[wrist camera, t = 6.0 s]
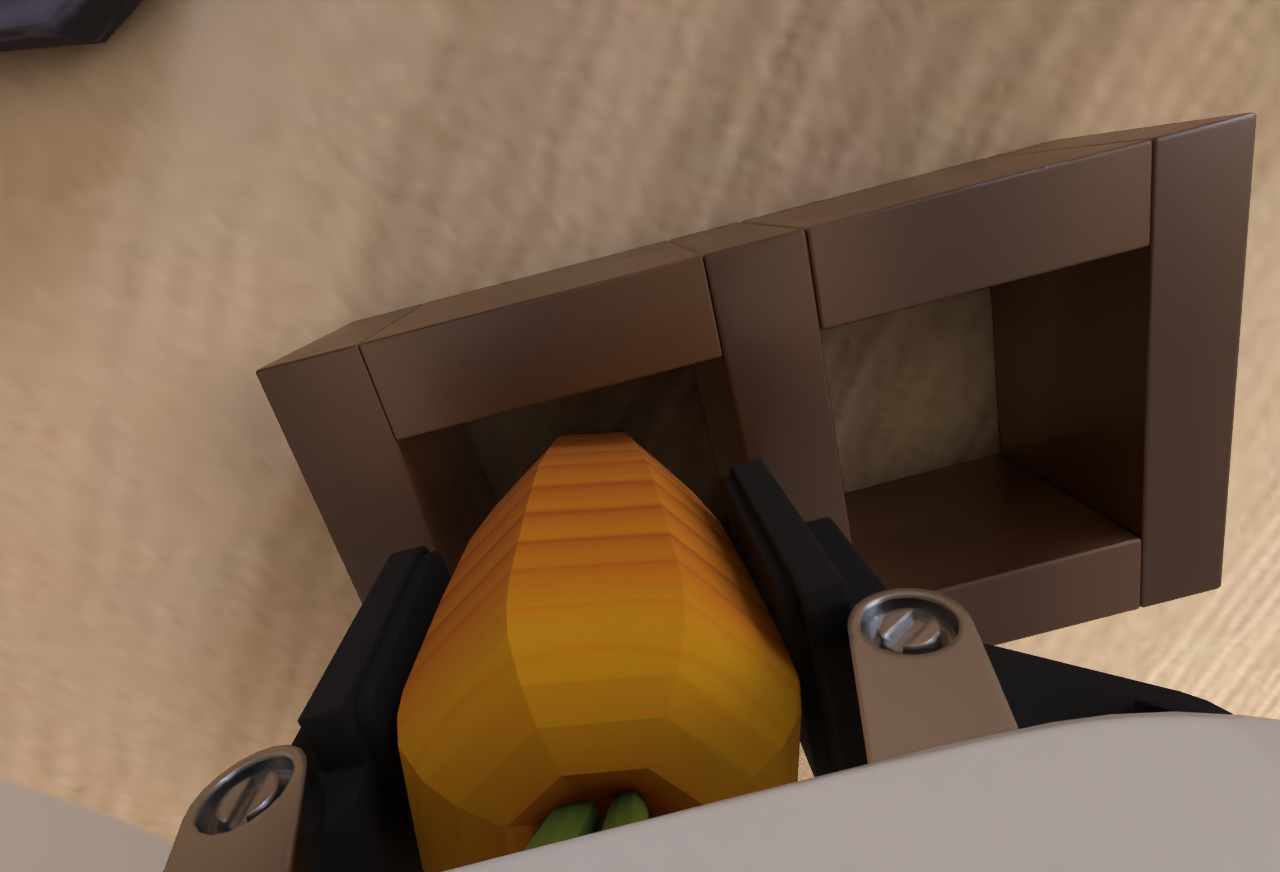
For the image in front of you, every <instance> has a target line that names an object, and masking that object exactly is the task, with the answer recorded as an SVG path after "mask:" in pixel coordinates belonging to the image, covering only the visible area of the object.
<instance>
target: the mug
mask: <svg viewBox="0 0 1280 872" xmlns="http://www.w3.org/2000/svg"><path fill="white" fill-rule="evenodd" d="M141 1H142V0H0V51H11V50H22V49H34V48H45V47H57V46H69V45H80V44H92V43H103V42H106V40H107V39H108V38H109V37H110V36H111V35H112V34H113V33H114V32H115V30H116V29H117V28H118V27H119V26H120V25H121V24H122V23H123V21H124V20H125V19H126V18H127V17H128V16H129V15H130V14H131V13H132V11H133V10H134V9H135V8H136V7H137V6H138V5H139V4H140V3H141Z"/></svg>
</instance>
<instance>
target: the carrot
mask: <svg viewBox="0 0 1280 872" xmlns="http://www.w3.org/2000/svg"><path fill="white" fill-rule="evenodd" d="M397 728H398V748H399V753H400V758H401V763H402V768H403V773H404V778H405V784H406V789H407V794H408V799H409V804H410V809H411V814H412V819H413V824H414V829H415V834H416V839H417V844H418V849H419V854H420V859H421V864H422V869H423V871H425V872H442V871H446V870H450V869H454V868H458V867H462V866H466V865H470V864H474V863H478V862H482V861H486V860H490V859H494V858H497V857H501V856H505V855H509V854H513V853H517V852H521V851H525V850H529V849H533V848H537V847H541V846H545V845H549V844H552V843H556V842H560V841H564V840H568V839H572V838H576V837H580V836H584V835H588V834H592V833H596V832H599V831H603V830H607V829H611V828H615V827H619V826H623V825H627V824H631V823H635V822H639V821H643V820H647V819H650V818H654V817H658V816H662V815H666V814H670V813H674V812H678V811H682V810H686V809H690V808H694V807H698V806H701V805H705V804H709V803H713V802H717V801H721V800H725V799H729V798H733V797H737V796H741V795H745V794H749V793H753V792H757V791H761V790H765V789H769V788H773V787H777V786H781V785H785V784H789V783H793V782H797V779H798V762H799V745H800V729H801V689H800V680H799V677H798V674H797V670H796V668H795V666H794V664H793V661H792V659H791V656H790V654H789V652H788V650H787V648H786V646H785V644H784V642H783V640H782V637H781V635H780V633H779V631H778V629H777V627H776V625H775V623H774V620H773V618H772V616H771V614H770V612H769V610H768V608H767V606H766V605H765V603H764V601H763V599H762V597H761V595H760V593H759V591H758V589H757V587H756V585H755V583H754V581H753V579H752V577H751V575H750V573H749V572H748V570H747V568H746V566H745V565H744V563H743V561H742V559H741V558H740V556H739V554H738V552H737V551H736V549H735V547H734V545H733V544H732V542H731V540H730V538H729V537H728V535H727V533H726V531H725V530H724V528H723V526H722V524H721V523H720V522H719V520H718V519H717V518H716V517H715V516H714V515H713V514H712V513H711V512H710V510H709V509H708V508H707V507H706V506H705V505H704V504H703V503H702V501H701V500H700V499H699V498H698V497H697V496H696V495H695V494H694V493H693V492H692V491H691V490H690V489H689V488H688V487H687V486H686V485H685V484H684V483H683V482H682V481H681V480H680V479H679V478H677V477H676V476H675V475H674V474H673V473H672V472H671V471H670V470H669V469H668V468H666V467H665V466H664V465H663V464H662V463H661V462H659V461H658V460H657V459H656V458H655V457H654V456H652V455H651V454H650V453H649V452H648V451H647V450H645V449H644V448H643V447H642V446H641V445H640V444H638V443H637V442H636V441H635V440H634V439H632V438H631V437H630V436H629V435H628V434H627V433H625V432H604V433H587V434H570V435H560V436H559V437H558V438H557V439H556V440H555V441H554V442H553V444H552V445H551V446H550V447H549V448H548V449H547V450H546V451H545V452H544V453H543V454H542V455H541V456H540V458H539V459H538V460H537V461H536V462H535V463H534V464H533V465H532V466H531V467H530V468H529V469H528V470H527V472H526V473H525V474H524V475H523V476H522V477H521V478H520V479H519V480H518V481H517V482H516V483H515V485H514V486H513V487H512V488H511V489H510V490H509V491H508V492H507V494H506V495H505V496H504V497H503V498H502V499H501V500H500V501H499V502H498V504H497V505H496V506H495V507H494V508H493V510H492V511H491V512H490V514H489V515H488V516H487V518H486V519H485V520H484V522H483V523H482V524H481V526H480V527H479V528H478V529H477V531H476V532H475V533H474V535H473V536H472V537H471V539H470V540H469V542H468V544H467V547H466V549H465V551H464V553H463V555H462V557H461V559H460V561H459V563H458V565H457V567H456V570H455V572H454V574H453V576H452V578H451V580H450V582H449V584H448V586H447V588H446V590H445V592H444V595H443V597H442V599H441V601H440V603H439V606H438V608H437V610H436V613H435V615H434V618H433V620H432V622H431V625H430V627H429V630H428V632H427V634H426V637H425V639H424V642H423V644H422V646H421V649H420V651H419V654H418V656H417V658H416V661H415V663H414V665H413V668H412V670H411V673H410V675H409V677H408V680H407V682H406V685H405V687H404V689H403V693H402V697H401V701H400V706H399V710H398V715H397Z"/></svg>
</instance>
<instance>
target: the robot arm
mask: <svg viewBox="0 0 1280 872" xmlns="http://www.w3.org/2000/svg"><path fill="white" fill-rule="evenodd" d="M720 481H721V487H722V491H723V496H724V500H725V505H726V509H727V514H728V518H729V523H730V528H731V532H732V537H733V541H734V546H735V549H736V551H737V552H738V554H739V556H740V558H741V559H742V561H743V563H744V565H745V566H746V568H747V570H748V572H749V573H750V575H751V577H752V579H753V581H754V583H755V585H756V587H757V589H758V591H759V593H760V595H761V597H762V599H763V601H764V603H765V605H766V606H767V608H768V610H769V612H770V614H771V616H772V618H773V620H774V623H775V625H776V627H777V629H778V631H779V633H780V635H781V637H782V640H783V642H784V644H785V646H786V648H787V650H788V652H789V654H790V656H791V659H792V661H793V664H794V666H795V668H796V670H797V674H798V677H799V680H800V689H801V729H800V742H801V745H802V747H803V750H804V752H805V755H806V757H807V760H808V762H809V765H810V767H811V770H812V772H813V775H814V778H810V779H806V780H802V781H797V782H793V783H789V784H785V785H781V786H777V787H773V788H769V789H765V790H761V791H757V792H753V793H749V794H745V795H741V796H737V797H733V798H729V799H725V800H721V801H717V802H713V803H709V804H705V805H701V806H698V807H694V808H690V809H686V810H682V811H678V812H674V813H670V814H666V815H662V816H658V817H654V818H650V819H647V820H643V821H639V822H635V823H631V824H627V825H623V826H619V827H615V828H611V829H607V830H603V831H599V832H596V833H592V834H588V835H584V836H580V837H576V838H572V839H568V840H564V841H560V842H556V843H552V844H549V845H545V846H541V847H537V848H533V849H529V850H525V851H521V852H517V853H513V854H509V855H505V856H501V857H497V858H494V859H490V860H486V861H482V862H478V863H474V864H470V865H466V866H462V867H458V868H454V869H450V870H446V871H442V872H1280V720H1276V719H1269V718H1261V717H1253V716H1246V715H1233V714H1232V713H1230V712H1228V711H1226V710H1224V709H1222V708H1220V707H1218V706H1216V705H1214V704H1213V703H1211V702H1209V701H1207V700H1204V699H1201V698H1198V697H1195V696H1192V695H1189V694H1186V693H1183V692H1180V691H1176V690H1172V689H1168V688H1163V687H1159V686H1155V685H1151V684H1147V683H1143V682H1139V681H1135V680H1131V679H1127V678H1123V677H1119V676H1115V675H1111V674H1107V673H1103V672H1098V671H1094V670H1090V669H1086V668H1082V667H1078V666H1074V665H1070V664H1066V663H1062V662H1058V661H1054V660H1050V659H1046V658H1042V657H1037V656H1033V655H1029V654H1025V653H1021V652H1017V651H1013V650H1009V649H1005V648H1001V647H997V646H993V645H989V644H985V643H982V641H981V638H980V636H979V634H978V631H977V629H976V626H975V624H974V622H973V619H972V618H971V616H970V615H969V613H968V612H967V610H966V609H965V608H964V607H963V606H962V605H961V604H959V603H958V602H956V601H955V600H954V599H952V598H950V597H948V596H945V595H943V594H940V593H938V592H935V591H930V590H925V589H919V588H895V589H890V590H887V588H886V587H885V586H884V585H883V583H882V582H881V581H880V580H879V578H878V577H877V576H876V575H875V573H874V572H873V571H872V569H871V568H870V567H869V566H868V564H867V563H866V562H865V561H864V559H863V558H862V557H861V555H860V554H859V553H858V552H857V550H856V549H855V548H854V547H853V545H852V544H851V543H850V542H849V540H848V539H847V538H846V536H845V535H844V534H843V533H842V531H841V530H840V529H839V528H838V526H837V525H836V524H835V522H834V521H833V520H832V519H831V518H830V517H824V518H820V519H816V520H812V521H808V522H805V521H804V520H803V519H802V517H801V516H800V514H799V513H798V511H797V510H796V508H795V507H794V506H793V504H792V503H791V501H790V500H789V498H788V497H787V496H786V494H785V493H784V491H783V490H782V488H781V487H780V485H779V484H778V483H777V481H776V480H775V478H774V477H773V475H772V474H771V473H770V471H769V470H768V468H767V467H766V465H765V464H764V462H763V461H762V460H761V459H757V460H754V461H750V462H746V463H742V464H738V465H734V466H730V475H728V476H724V477H721V478H720ZM450 580H451V577H450V575H449V572H448V570H447V567H446V565H445V562H444V560H443V558H442V556H441V554H440V553H439V552H438V551H432V552H430V551H429V550H428V548H427V547H425V546H419V547H415V548H411V549H408V550H404V551H400V552H396V553H392V554H391V555H390V556H389V557H388V559H387V561H386V563H385V565H384V566H383V568H382V570H381V572H380V574H379V575H378V577H377V579H376V581H375V583H374V584H373V586H372V588H371V590H370V592H369V593H368V595H367V597H366V599H365V601H364V602H363V604H362V606H361V608H360V609H359V611H358V613H357V615H356V617H355V618H354V620H353V622H352V624H351V626H350V627H349V629H348V631H347V633H346V635H345V636H344V638H343V640H342V642H341V644H340V645H339V647H338V649H337V651H336V653H335V654H334V656H333V658H332V660H331V662H330V663H329V665H328V667H327V669H326V671H325V672H324V674H323V676H322V678H321V680H320V681H319V683H318V685H317V687H316V689H315V690H314V692H313V694H312V696H311V698H310V699H309V701H308V703H307V705H306V707H305V708H304V710H303V712H302V714H301V716H300V717H299V719H298V722H299V724H300V726H301V728H300V730H299V732H298V734H297V736H296V738H295V739H294V741H293V743H292V745H282V746H274V747H271V748H268V749H265V750H262V751H259V752H256V753H254V754H252V755H250V756H248V757H246V758H245V759H243V760H241V761H239V762H237V763H236V764H234V765H233V766H231V767H230V768H229V769H227V770H226V771H224V772H223V773H221V774H220V775H219V776H218V777H217V778H216V779H214V780H213V781H212V782H211V783H210V784H209V785H208V786H207V787H206V788H204V790H203V791H202V792H201V793H200V794H199V796H198V797H197V798H196V799H195V800H194V802H193V803H192V804H191V805H190V807H189V809H188V811H187V813H186V815H185V817H184V818H183V820H182V823H181V826H180V828H179V831H178V834H177V836H176V839H175V842H174V845H173V847H172V850H171V853H170V855H169V858H168V861H167V863H166V866H165V869H164V871H163V872H425V871H423V869H422V864H421V859H420V854H419V849H418V844H417V839H416V834H415V829H414V824H413V819H412V814H411V809H410V804H409V799H408V794H407V789H406V784H405V778H404V773H403V768H402V763H401V758H400V753H399V748H398V728H397V715H398V710H399V706H400V701H401V697H402V693H403V689H404V687H405V685H406V682H407V680H408V677H409V675H410V673H411V670H412V668H413V665H414V663H415V661H416V658H417V656H418V654H419V651H420V649H421V646H422V644H423V642H424V639H425V637H426V634H427V632H428V630H429V627H430V625H431V622H432V620H433V618H434V615H435V613H436V610H437V608H438V606H439V603H440V601H441V599H442V597H443V595H444V592H445V590H446V588H447V586H448V584H449V582H450Z"/></svg>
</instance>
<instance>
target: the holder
mask: <svg viewBox="0 0 1280 872" xmlns="http://www.w3.org/2000/svg"><path fill="white" fill-rule="evenodd" d="M1255 127H1256V114H1254V113H1244V114H1237V115H1230V116H1223V117H1216V118H1209V119H1202V120H1194V121H1187V122H1180V123H1173V124H1166V125H1159V126H1152V127H1145V128H1138V129H1130V130H1123V131H1116V132H1109V133H1102V134H1095V135H1088V136H1081V137H1074V138H1066V139H1059V140H1054V141H1050V142H1046V143H1042V144H1038V145H1034V146H1031V147H1027V148H1023V149H1019V150H1015V151H1011V152H1007V153H1004V154H1000V155H996V156H992V157H988V158H986V159H980V160H976V161H973V162H969V163H965V164H961V165H957V166H953V167H949V168H946V169H942V170H938V171H934V172H930V173H926V174H922V175H919V176H915V177H911V178H907V179H903V180H899V181H895V182H892V183H888V184H884V185H880V186H876V187H872V188H868V189H864V190H861V191H857V192H853V193H849V194H845V195H841V196H837V197H834V198H830V199H826V200H822V201H818V202H814V203H810V204H807V205H803V206H799V207H795V208H791V209H787V210H783V211H780V212H776V213H772V214H768V215H764V216H760V217H756V218H753V219H749V220H745V221H743V222H742V223H734V224H730V225H726V226H722V227H718V228H714V229H710V230H706V231H703V232H699V233H695V234H691V235H687V236H683V237H679V238H676V239H672V240H670V241H669V242H667V241H663V242H660V243H656V244H652V245H648V246H644V247H640V248H636V249H633V250H629V251H625V252H621V253H617V254H613V255H609V256H606V257H602V258H598V259H594V260H590V261H586V262H582V263H579V264H575V265H571V266H567V267H563V268H559V269H555V270H551V271H548V272H544V273H540V274H536V275H532V276H528V277H524V278H521V279H517V280H513V281H509V282H505V283H501V284H497V285H494V286H490V287H486V288H482V289H478V290H474V291H470V292H467V293H463V294H459V295H455V296H451V297H447V298H443V299H440V300H436V301H432V302H428V303H425V304H420V305H416V306H413V307H409V308H405V309H401V310H397V311H393V312H389V313H386V314H382V315H378V316H374V317H370V318H366V319H362V320H358V321H355V322H352V323H350V324H348V325H346V326H344V327H342V328H340V329H338V330H336V331H334V332H332V333H330V334H328V335H326V336H324V337H322V338H320V339H318V340H316V341H314V342H312V343H310V344H308V345H306V346H304V347H302V348H300V349H298V350H296V351H294V352H292V353H290V354H288V355H286V356H284V357H282V358H280V359H278V360H276V361H274V362H272V363H270V364H268V365H266V366H264V367H262V368H260V369H258V370H257V371H256V374H257V376H258V379H259V381H260V383H261V385H262V387H263V389H264V392H265V394H266V396H267V398H268V400H269V402H270V405H271V407H272V409H273V411H274V413H275V415H276V418H277V420H278V422H279V424H280V426H281V428H282V431H283V433H284V435H285V437H286V439H287V441H288V444H289V446H290V448H291V450H292V452H293V455H294V457H295V459H296V461H297V463H298V465H299V468H300V470H301V472H302V474H303V476H304V478H305V481H306V483H307V485H308V487H309V489H310V491H311V494H312V496H313V498H314V500H315V502H316V504H317V507H318V509H319V511H320V513H321V515H322V517H323V520H324V522H325V524H326V526H327V528H328V531H329V533H330V535H331V537H332V539H333V541H334V544H335V546H336V548H337V550H338V552H339V554H340V557H341V559H342V561H343V563H344V565H345V567H346V570H347V572H348V574H349V576H350V578H351V580H352V583H353V585H354V587H355V589H356V591H357V594H358V596H359V598H360V600H361V602H362V604H363V602H364V601H365V599H366V597H367V595H368V593H369V592H370V590H371V588H372V586H373V584H374V583H375V581H376V579H377V577H378V575H379V574H380V572H381V570H382V568H383V566H384V565H385V563H386V561H387V559H388V557H389V556H390V555H391V554H392V553H396V552H400V551H404V550H408V549H411V548H415V547H419V546H425V547H427V548H428V550H429V551H430V552H432V551H438V552H439V553H440V554H441V556H442V558H443V560H444V562H445V565H446V567H447V570H448V572H449V575H450V577H451V578H452V576H453V574H454V572H455V570H456V567H457V565H458V563H459V561H460V559H461V557H462V555H463V553H464V551H465V549H466V547H467V544H468V542H469V540H470V539H471V537H472V536H473V535H474V533H475V532H476V531H477V529H478V528H479V527H480V526H481V524H482V523H483V522H484V520H485V519H486V518H487V516H488V515H489V514H490V512H491V511H492V510H493V508H494V507H495V506H496V504H495V501H494V499H493V496H492V493H491V490H490V487H489V485H488V482H487V479H486V476H485V473H484V470H483V468H482V465H481V462H480V459H479V456H478V454H477V451H476V448H475V445H474V442H473V439H472V437H471V434H470V431H469V428H468V425H467V422H471V421H475V420H478V419H482V418H486V417H490V416H494V415H498V414H502V413H506V412H509V411H513V410H517V409H521V408H525V407H529V406H533V405H537V404H540V403H544V402H548V401H552V400H556V399H560V398H564V397H568V396H571V395H575V394H579V393H583V392H587V391H591V390H595V389H599V388H602V387H606V386H610V385H614V384H618V383H622V382H626V381H630V380H633V379H637V378H641V377H645V376H649V375H653V374H657V373H661V372H664V371H668V370H672V369H676V368H680V367H684V366H688V365H692V364H695V368H696V372H697V377H698V381H699V386H700V391H701V395H702V400H703V404H704V409H705V413H706V418H707V422H708V427H709V432H710V436H711V441H712V445H713V450H714V454H715V459H716V463H717V468H718V473H719V477H720V478H721V477H724V476H728V475H730V466H734V465H738V464H742V463H746V462H750V461H754V460H757V459H761V460H762V461H763V462H764V464H765V465H766V467H767V468H768V470H769V471H770V473H771V474H772V475H773V477H774V478H775V480H776V481H777V483H778V484H779V485H780V487H781V488H782V490H783V491H784V493H785V494H786V496H787V497H788V498H789V500H790V501H791V503H792V504H793V506H794V507H795V508H796V510H797V511H798V513H799V514H800V516H801V517H802V519H803V520H804V521H805V522H808V521H812V520H816V519H820V518H824V517H830V518H831V519H832V520H833V521H834V522H835V524H836V525H837V526H838V528H839V529H840V530H841V531H842V533H843V534H844V535H845V536H846V538H847V539H848V540H849V542H850V543H851V544H852V545H853V547H854V548H855V549H856V550H857V552H858V553H859V554H860V555H861V557H862V558H863V559H864V561H865V562H866V563H867V564H868V566H869V567H870V568H871V569H872V571H873V572H874V573H875V575H876V576H877V577H878V578H879V580H880V581H881V582H882V583H883V585H884V586H885V587H886V588H887V590H890V589H895V588H919V589H925V590H930V591H935V592H938V593H940V594H943V595H945V596H948V597H950V598H952V599H954V600H955V601H956V602H958V603H959V604H961V605H962V606H963V607H964V608H965V609H966V610H967V612H968V613H969V615H970V616H971V618H972V619H973V622H974V624H975V626H976V629H977V631H978V634H979V636H980V638H981V641H982V643H985V644H989V645H993V646H994V645H998V644H1002V643H1006V642H1010V641H1014V640H1017V639H1021V638H1025V637H1029V636H1033V635H1037V634H1041V633H1045V632H1049V631H1053V630H1057V629H1061V628H1064V627H1068V626H1072V625H1076V624H1080V623H1084V622H1088V621H1092V620H1096V619H1100V618H1104V617H1107V616H1111V615H1115V614H1119V613H1123V612H1127V611H1131V610H1135V609H1138V608H1139V607H1140V606H1141V607H1147V606H1151V605H1155V604H1159V603H1163V602H1166V601H1170V600H1174V599H1178V598H1182V597H1186V596H1190V595H1194V594H1198V593H1202V592H1206V591H1209V590H1213V589H1217V588H1219V587H1220V586H1221V575H1222V562H1223V549H1224V536H1225V522H1226V509H1227V496H1228V483H1229V470H1230V457H1231V443H1232V430H1233V417H1234V404H1235V391H1236V377H1237V364H1238V351H1239V338H1240V325H1241V312H1242V298H1243V285H1244V272H1245V259H1246V246H1247V233H1248V219H1249V206H1250V193H1251V180H1252V167H1253V154H1254V140H1255ZM989 287H992V295H993V313H994V331H995V349H996V367H997V385H998V403H999V421H1000V439H1001V455H995V456H991V457H987V458H983V459H980V460H976V461H972V462H968V463H964V464H960V465H956V466H952V467H948V468H945V469H941V470H937V471H933V472H929V473H925V474H921V475H917V476H913V477H910V478H906V479H902V480H898V481H894V482H890V483H886V484H882V485H878V486H874V487H871V488H867V489H863V490H859V491H855V492H851V493H847V494H844V488H843V481H842V474H841V467H840V461H839V454H838V447H837V440H836V434H835V427H834V420H833V413H832V407H831V400H830V393H829V387H828V380H827V373H826V366H825V360H824V353H823V346H822V339H821V333H820V329H822V330H826V329H830V328H834V327H838V326H841V325H845V324H849V323H853V322H857V321H861V320H865V319H869V318H872V317H876V316H880V315H884V314H888V313H892V312H896V311H900V310H903V309H907V308H911V307H915V306H919V305H923V304H927V303H931V302H934V301H938V300H942V299H946V298H950V297H954V296H958V295H962V294H965V293H969V292H973V291H977V290H981V289H985V288H989ZM720 482H721V481H720ZM722 526H723V528H724V530H725V531H726V533H727V535H728V537H729V538H730V540H731V542H732V544H733V545H734V541H733V537H732V532H731V528H730V525H729V524H725V525H722ZM734 547H735V546H734Z"/></svg>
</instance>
